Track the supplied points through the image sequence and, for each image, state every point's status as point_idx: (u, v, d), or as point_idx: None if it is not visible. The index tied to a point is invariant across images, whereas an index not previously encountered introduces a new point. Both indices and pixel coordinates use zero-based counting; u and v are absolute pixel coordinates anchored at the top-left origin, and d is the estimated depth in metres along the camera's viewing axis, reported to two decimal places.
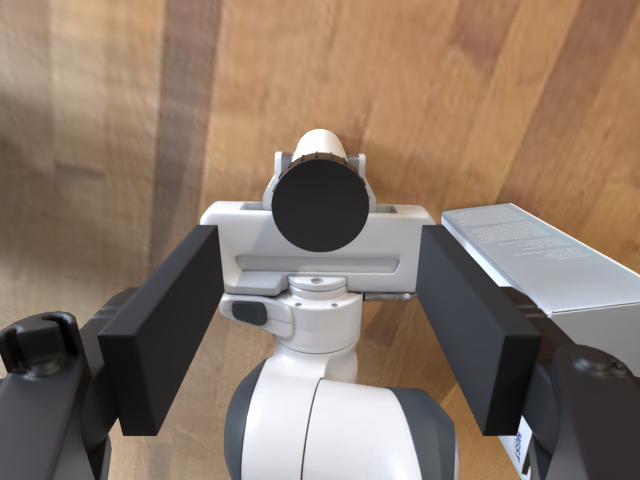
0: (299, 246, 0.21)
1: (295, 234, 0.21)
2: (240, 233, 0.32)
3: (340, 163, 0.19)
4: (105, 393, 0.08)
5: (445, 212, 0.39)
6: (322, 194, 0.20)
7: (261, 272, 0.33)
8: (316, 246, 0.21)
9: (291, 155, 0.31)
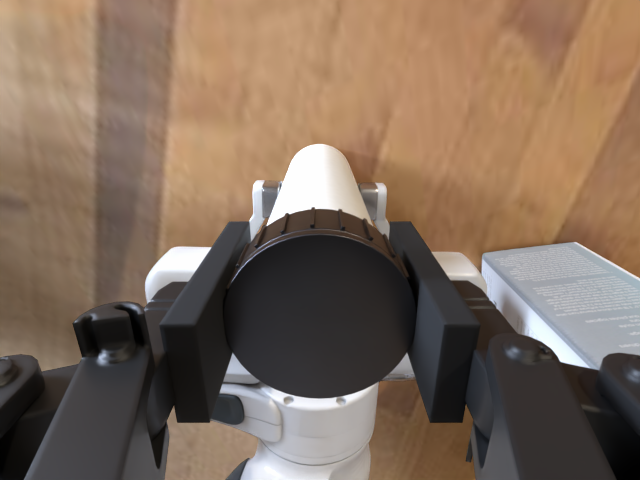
0: (280, 388, 0.11)
1: (272, 369, 0.11)
2: None
3: (361, 243, 0.09)
4: (165, 380, 0.08)
5: (488, 254, 0.29)
6: (324, 300, 0.10)
7: None
8: (312, 388, 0.11)
9: (277, 187, 0.21)
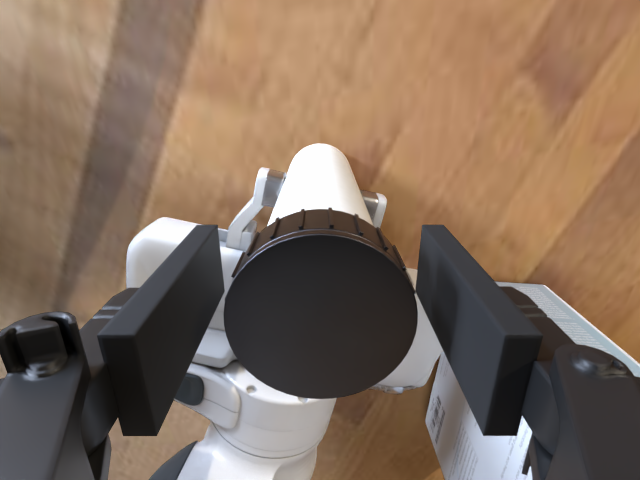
0: (385, 374, 0.11)
1: (359, 374, 0.11)
2: None
3: (240, 271, 0.10)
4: (105, 393, 0.08)
5: None
6: (294, 315, 0.10)
7: (208, 331, 0.23)
8: (396, 348, 0.10)
9: (281, 178, 0.21)
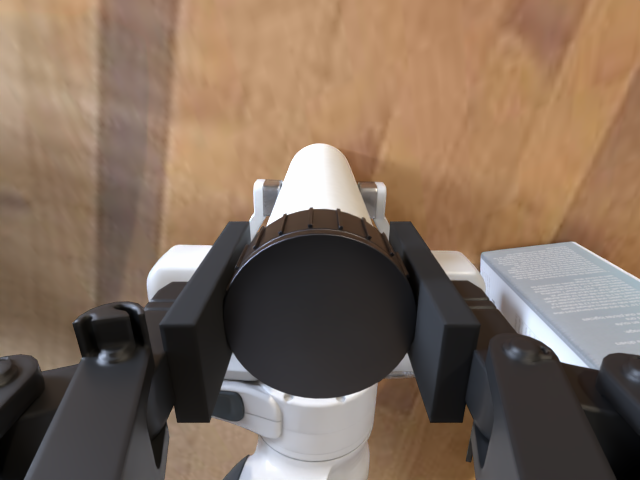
0: (396, 362, 0.11)
1: (370, 367, 0.11)
2: None
3: (230, 286, 0.10)
4: (165, 380, 0.08)
5: (486, 254, 0.29)
6: (292, 319, 0.10)
7: None
8: (401, 334, 0.10)
9: (277, 185, 0.21)
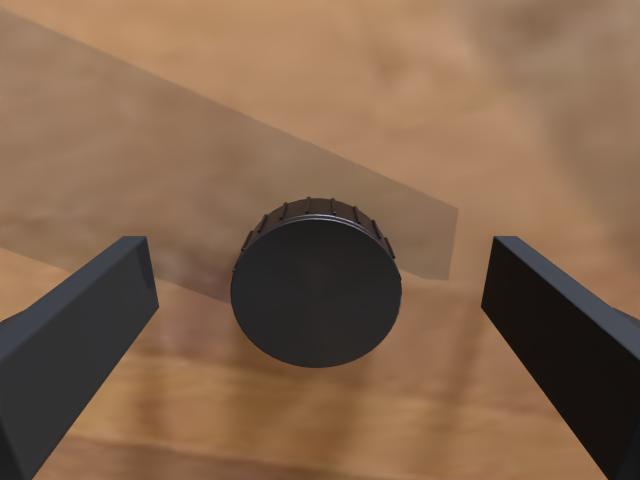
0: (384, 334, 0.12)
1: (361, 338, 0.12)
2: None
3: (237, 265, 0.11)
4: None
5: None
6: (291, 295, 0.11)
7: None
8: (387, 309, 0.12)
9: None
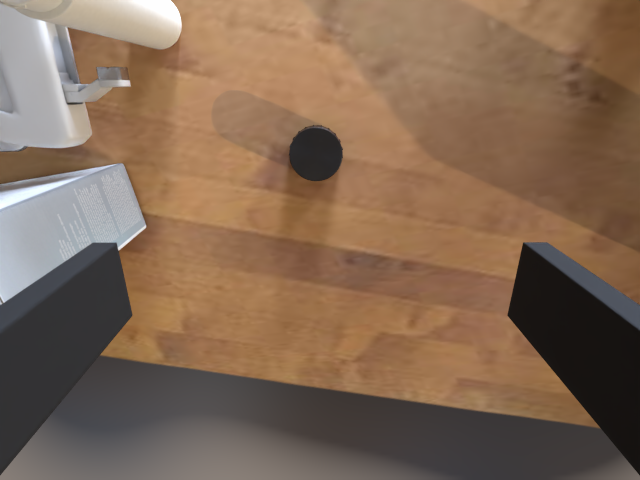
0: (337, 167, 0.37)
1: (330, 169, 0.38)
2: None
3: (292, 143, 0.37)
4: None
5: (122, 166, 0.39)
6: (308, 153, 0.37)
7: None
8: (338, 158, 0.37)
9: None
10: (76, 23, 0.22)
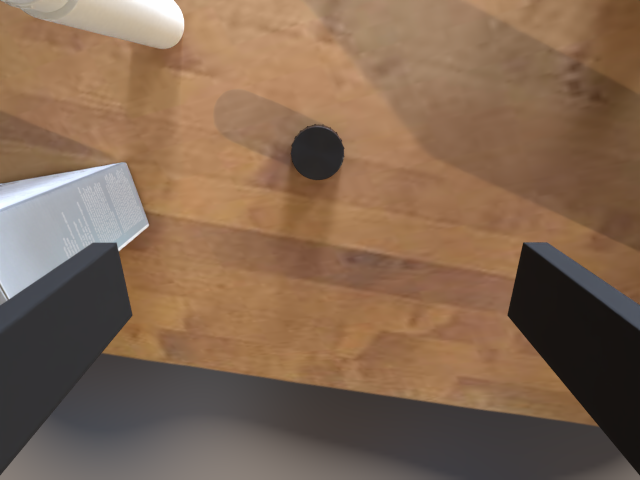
0: (339, 166, 0.38)
1: (331, 168, 0.38)
2: None
3: (294, 142, 0.37)
4: None
5: (125, 165, 0.39)
6: (310, 152, 0.37)
7: None
8: (339, 157, 0.37)
9: None
10: (81, 23, 0.22)
